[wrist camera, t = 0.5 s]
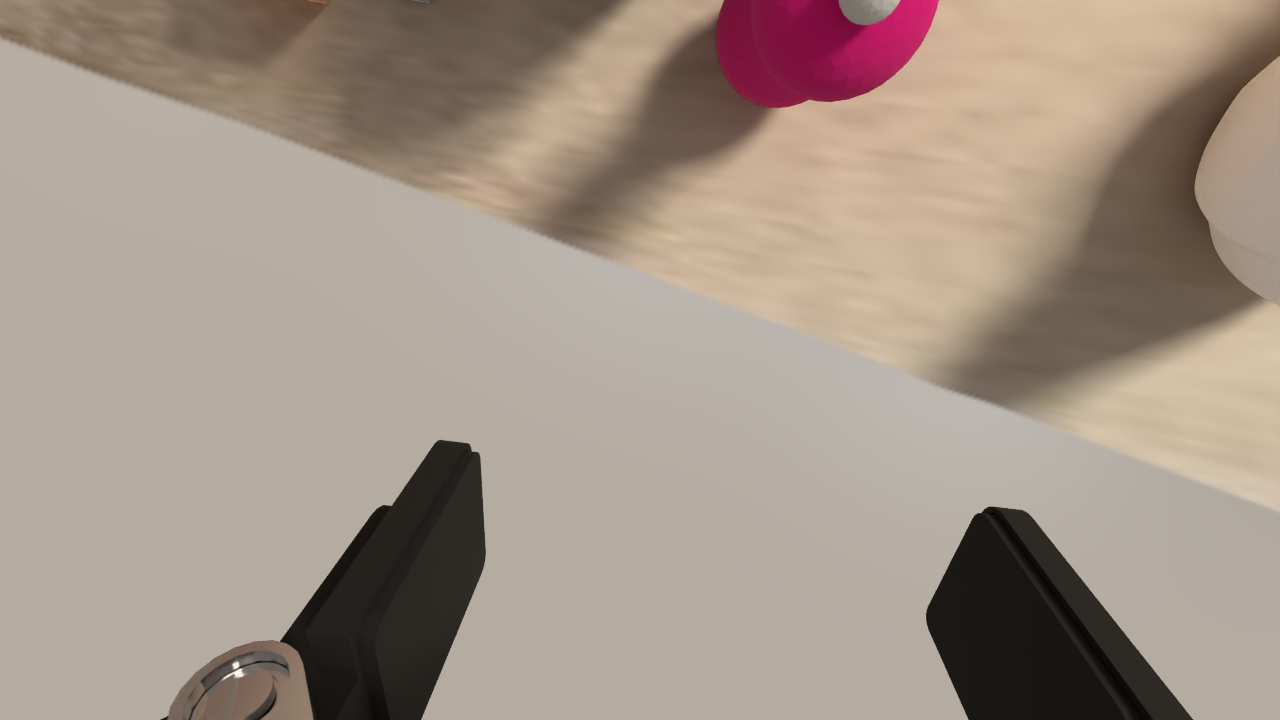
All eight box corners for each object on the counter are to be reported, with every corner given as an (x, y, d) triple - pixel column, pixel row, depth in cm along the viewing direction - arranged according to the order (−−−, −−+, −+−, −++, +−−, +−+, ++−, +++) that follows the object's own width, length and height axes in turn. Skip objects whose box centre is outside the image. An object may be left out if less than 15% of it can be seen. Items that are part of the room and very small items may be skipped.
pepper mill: (728, 121, 35) (775, 160, 17) (698, -7, 32) (717, -123, 14) (844, 81, 33) (1029, 79, 15) (824, -57, 30) (1024, -258, 12)
